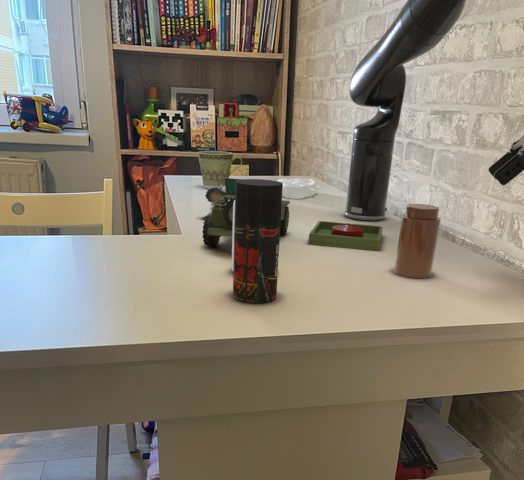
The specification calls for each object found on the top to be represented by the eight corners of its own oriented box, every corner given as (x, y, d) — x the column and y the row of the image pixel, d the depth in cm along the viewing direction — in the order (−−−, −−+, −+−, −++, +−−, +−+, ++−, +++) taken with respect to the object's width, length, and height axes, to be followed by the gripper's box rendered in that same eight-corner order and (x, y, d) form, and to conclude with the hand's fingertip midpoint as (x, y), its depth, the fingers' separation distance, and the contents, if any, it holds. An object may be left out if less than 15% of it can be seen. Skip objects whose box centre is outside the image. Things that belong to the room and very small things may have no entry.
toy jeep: (289, 230, 115) (292, 175, 111) (264, 260, 93) (267, 193, 89) (232, 225, 118) (234, 171, 113) (195, 253, 95) (194, 187, 91)
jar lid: (358, 242, 106) (359, 233, 105) (327, 238, 108) (328, 229, 108) (365, 236, 111) (366, 227, 111) (336, 232, 113) (337, 223, 113)
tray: (317, 230, 117) (318, 220, 116) (381, 236, 115) (382, 226, 114) (308, 244, 105) (309, 233, 104) (379, 250, 103) (380, 240, 102)
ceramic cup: (194, 189, 161) (194, 152, 157) (203, 184, 170) (203, 150, 166) (238, 192, 160) (239, 155, 156) (244, 187, 169) (246, 152, 165)
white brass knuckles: (278, 187, 172) (324, 192, 168) (260, 195, 156) (311, 200, 152) (278, 176, 170) (325, 180, 167) (260, 183, 155) (312, 187, 151)
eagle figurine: (243, 210, 128) (204, 201, 127) (248, 186, 122) (208, 177, 121) (238, 234, 123) (198, 225, 122) (244, 210, 118) (202, 201, 117)
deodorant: (232, 289, 78) (234, 178, 72) (274, 289, 79) (280, 179, 73) (233, 303, 73) (236, 184, 67) (278, 303, 73) (285, 186, 67)
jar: (391, 267, 93) (401, 202, 88) (426, 269, 93) (437, 204, 88) (397, 277, 88) (407, 208, 83) (434, 279, 87) (446, 210, 83)
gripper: (635, 111, 68) (517, 203, 75) (604, 112, 81) (505, 191, 88) (597, 63, 67) (481, 161, 74) (571, 71, 80) (474, 155, 87)
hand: (494, 177), depth 81 cm, fingers open, 8 cm apart
